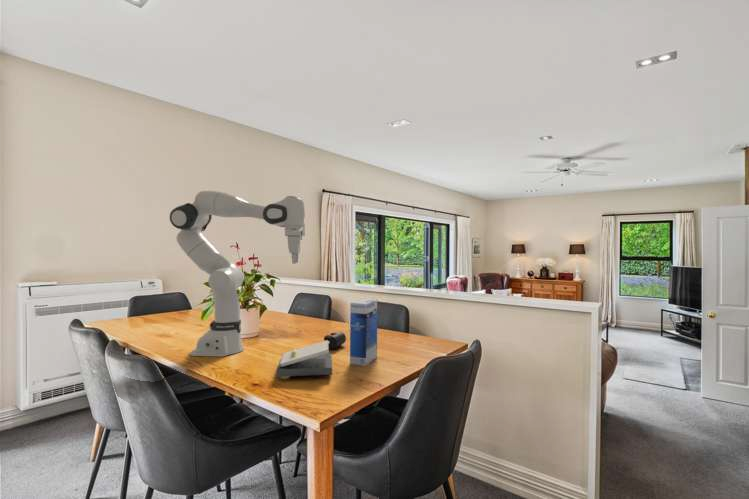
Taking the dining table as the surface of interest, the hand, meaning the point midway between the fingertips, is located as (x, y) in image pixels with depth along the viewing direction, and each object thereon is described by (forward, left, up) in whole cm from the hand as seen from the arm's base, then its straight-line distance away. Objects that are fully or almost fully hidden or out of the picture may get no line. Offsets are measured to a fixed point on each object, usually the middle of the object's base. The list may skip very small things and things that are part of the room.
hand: (295, 263), depth 166 cm
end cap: (+18, +10, -42) cm, 47 cm away
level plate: (+6, -24, -34) cm, 43 cm away
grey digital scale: (+6, -24, -41) cm, 48 cm away
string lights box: (+30, -12, -42) cm, 53 cm away
